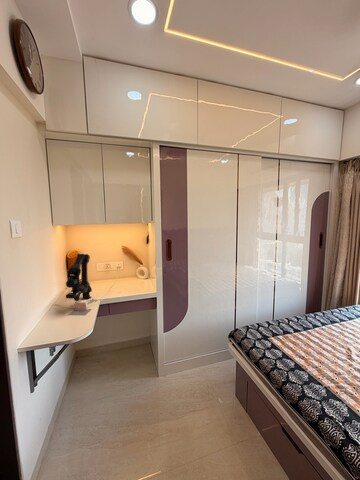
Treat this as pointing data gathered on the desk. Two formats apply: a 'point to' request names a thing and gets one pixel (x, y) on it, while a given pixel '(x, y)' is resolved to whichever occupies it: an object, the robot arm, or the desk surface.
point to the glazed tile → (81, 305)
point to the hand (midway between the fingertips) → (77, 302)
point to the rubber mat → (79, 312)
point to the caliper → (90, 302)
